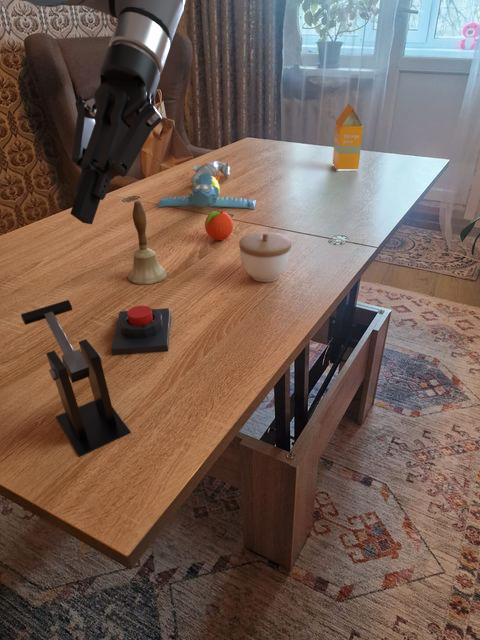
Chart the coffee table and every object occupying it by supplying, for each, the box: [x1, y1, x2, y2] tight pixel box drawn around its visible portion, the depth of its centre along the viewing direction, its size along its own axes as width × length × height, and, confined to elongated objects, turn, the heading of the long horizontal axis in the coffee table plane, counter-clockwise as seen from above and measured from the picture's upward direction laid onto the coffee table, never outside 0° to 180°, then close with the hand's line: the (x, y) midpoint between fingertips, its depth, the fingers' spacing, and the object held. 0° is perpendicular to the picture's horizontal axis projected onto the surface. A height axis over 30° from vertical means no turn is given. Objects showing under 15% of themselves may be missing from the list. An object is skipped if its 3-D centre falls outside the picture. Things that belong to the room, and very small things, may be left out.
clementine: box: [204, 210, 234, 241], centre depth 117 cm, size 8×7×7 cm
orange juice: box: [332, 104, 364, 170], centre depth 166 cm, size 8×9×20 cm
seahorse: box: [190, 160, 231, 185], centre depth 158 cm, size 5×12×20 cm
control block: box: [110, 307, 172, 356], centre depth 82 cm, size 9×12×4 cm
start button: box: [127, 305, 153, 326], centre depth 81 cm, size 4×4×2 cm
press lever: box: [20, 299, 90, 384], centre depth 60 cm, size 11×6×2 cm, turn 37°
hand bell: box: [127, 200, 168, 285], centre depth 98 cm, size 8×8×16 cm
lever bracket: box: [45, 339, 132, 458], centre depth 62 cm, size 9×7×13 cm
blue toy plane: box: [157, 173, 257, 210], centre depth 137 cm, size 28×9×15 cm
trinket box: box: [238, 231, 292, 283], centre depth 100 cm, size 11×11×9 cm
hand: (81, 219), depth 64 cm, fingers closed
